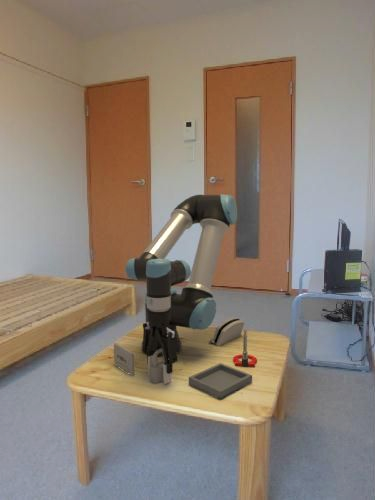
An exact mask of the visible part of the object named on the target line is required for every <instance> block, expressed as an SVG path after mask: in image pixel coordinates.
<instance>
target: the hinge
mask: <svg viewBox="0 0 375 500" xmlns="http://www.w3.org/2000/svg"><path fill="white" fill-rule="evenodd" d="M244 325H245V322H244V321H243V320H241V319H240V318H238V317H231V318H228V319H226V320H224V321H223V322H221V323H220V324H219V325H217V327H216V328H215V332H214V334H213V337H212V338H210V339H209V340H208V344H211V343H212V344H215V346H216V347H220V346H222V345H223V344H226V343H228V342H229V341H232V340H234V339H235V338H238V337H241V336H242V332H243V330H244V329H243V328H244V327H245V326H244Z"/></svg>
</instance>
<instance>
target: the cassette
mask: <svg viewBox="0 0 375 500" xmlns="http://www.w3.org/2000/svg"><path fill="white" fill-rule="evenodd" d="M113 356H114V357H113V359H114V363H115V364H116V365H115V364H114V365H115V367H116V366H118V367H120V368H121V369H123V370H124V371H125V372H124V371H123V372H124V373H126V372H127V373H130V374H131V375H130V374H129V375H130V376H132V375H133V376H135V375H136V374H135V353H134V352H133V351H131V350H130V349H128V348H126V347H123V346H122V345H120V344H119V343H118V342H115V343H113ZM118 367H117V368H118ZM121 369H120V370H121ZM127 373H126V374H127Z"/></svg>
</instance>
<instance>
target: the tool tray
mask: <svg viewBox="0 0 375 500" xmlns="http://www.w3.org/2000/svg"><path fill="white" fill-rule="evenodd" d="M252 383H253V374H250V373H247V372H245V371H242V370H240V369H237V368H235V367H233V366H229V365H227V364H224V363H223V362H222V363H221V362H220V363H218V364H215V365H213V366H211V367H208V368H207V369H204V370H202V371H200V372H198V373H195V374H193V375H191V376H189V377H188V386H190V387H192V388H194V389H197V390H199V391H200V392H203V393H205V394H207V395H209V396H210V397H211V396H212V397H213V398H215V399H218V400H220V401H222V400H223V399H226V398H227V397H229V396H231V395H232V394H235V393H236V392H238V391H240V390H241V389H243V388H245V387H247V386H249V385H251V384H252Z"/></svg>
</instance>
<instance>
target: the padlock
mask: <svg viewBox="0 0 375 500" xmlns="http://www.w3.org/2000/svg"><path fill="white" fill-rule="evenodd" d="M160 352H162V353H163V351H162V349H158V350H157V351H156V352H155V353H154V356H153V365H151V366H149V376H148V381H149V382H150V383H153V384H156V385H157V384H159V383H161V382H164V372H163V363H165V359H164V355H163V356H162V360H160V361H158V359H157V358H158V356H157V355H158V354H159V353H160Z"/></svg>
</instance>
